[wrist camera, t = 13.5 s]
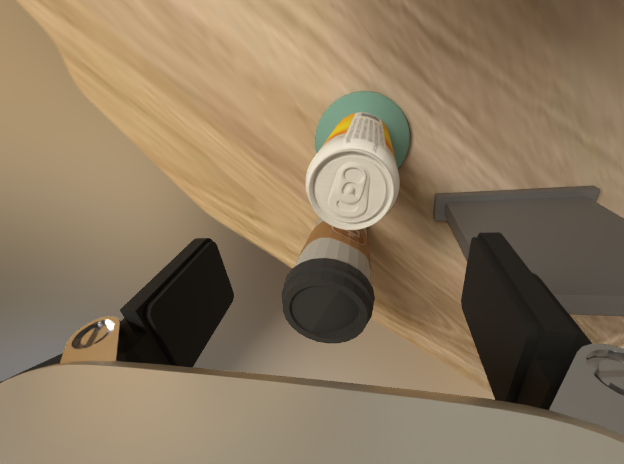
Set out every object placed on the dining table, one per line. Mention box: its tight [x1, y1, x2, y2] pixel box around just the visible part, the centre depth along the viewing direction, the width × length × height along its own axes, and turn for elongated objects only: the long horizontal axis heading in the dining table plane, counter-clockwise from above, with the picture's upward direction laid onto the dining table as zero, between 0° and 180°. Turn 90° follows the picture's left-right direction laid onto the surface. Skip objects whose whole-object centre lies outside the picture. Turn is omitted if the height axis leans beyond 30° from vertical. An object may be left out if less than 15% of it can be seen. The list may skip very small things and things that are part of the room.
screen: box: [433, 186, 624, 316], centre depth 24 cm, size 3×15×16 cm, turn 98°
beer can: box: [306, 112, 400, 230], centre depth 24 cm, size 6×6×15 cm
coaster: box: [315, 91, 410, 169], centre depth 30 cm, size 10×10×1 cm
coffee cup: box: [282, 218, 375, 343], centre depth 30 cm, size 8×8×15 cm
